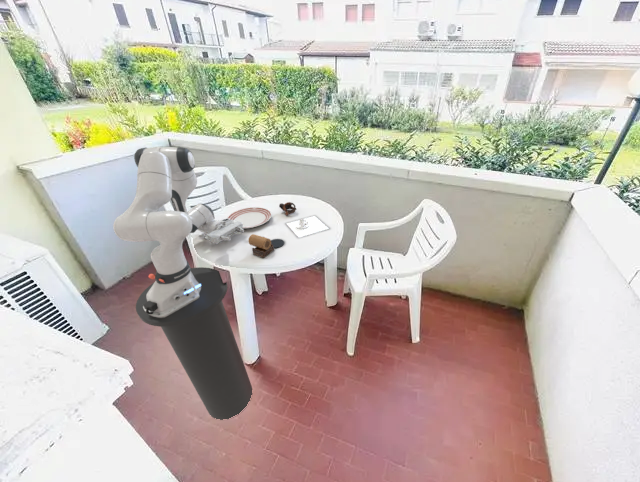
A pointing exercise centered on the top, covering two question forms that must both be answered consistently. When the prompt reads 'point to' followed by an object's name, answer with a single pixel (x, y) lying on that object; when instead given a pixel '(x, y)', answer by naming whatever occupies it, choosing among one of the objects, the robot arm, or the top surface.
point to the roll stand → (262, 251)
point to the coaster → (277, 243)
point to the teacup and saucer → (307, 226)
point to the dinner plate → (251, 216)
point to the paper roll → (259, 241)
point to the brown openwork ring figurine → (288, 206)
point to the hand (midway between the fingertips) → (236, 234)
